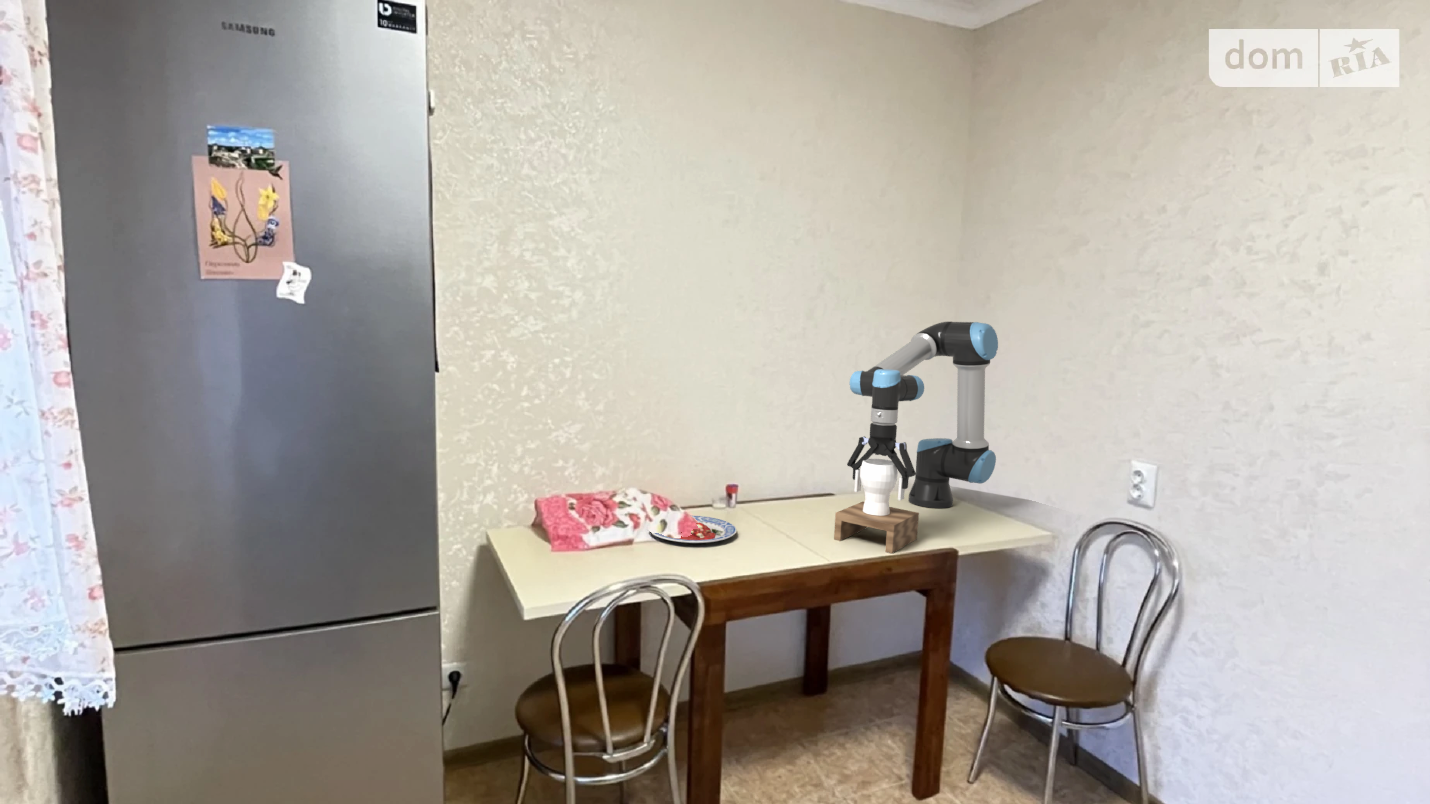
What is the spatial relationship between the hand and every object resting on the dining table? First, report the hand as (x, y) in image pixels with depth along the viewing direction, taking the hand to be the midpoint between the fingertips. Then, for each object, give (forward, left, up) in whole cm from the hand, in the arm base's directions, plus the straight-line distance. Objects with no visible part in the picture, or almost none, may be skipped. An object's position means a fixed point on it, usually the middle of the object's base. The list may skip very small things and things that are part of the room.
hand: (878, 495), depth 212 cm
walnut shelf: (0, 0, -13) cm, 13 cm away
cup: (0, -1, -5) cm, 5 cm away
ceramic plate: (+34, -42, -14) cm, 56 cm away
